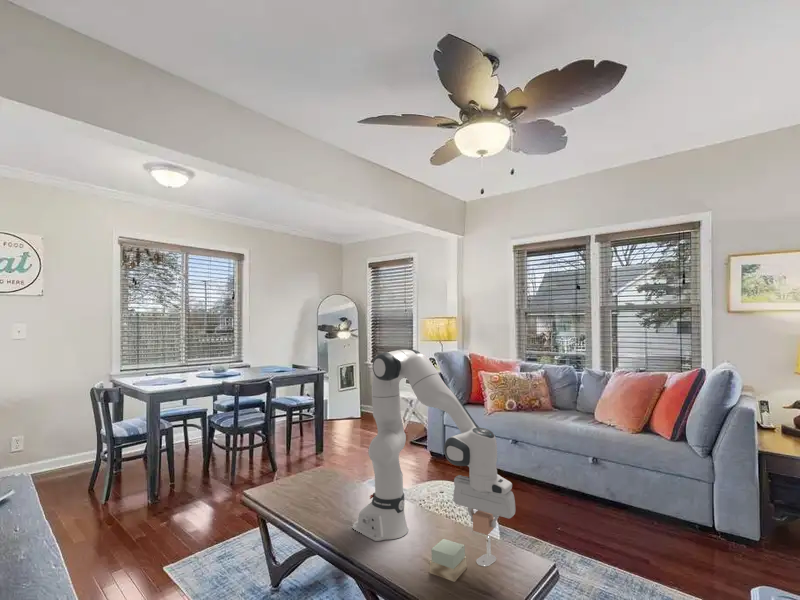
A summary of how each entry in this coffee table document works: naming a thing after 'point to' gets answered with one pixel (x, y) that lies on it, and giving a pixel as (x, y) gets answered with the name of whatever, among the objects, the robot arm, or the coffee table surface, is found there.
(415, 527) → the coffee table surface
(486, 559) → the stand
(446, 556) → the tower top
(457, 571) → the tower base
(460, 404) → the robot arm
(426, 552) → the coffee table surface
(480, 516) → the terracotta block
